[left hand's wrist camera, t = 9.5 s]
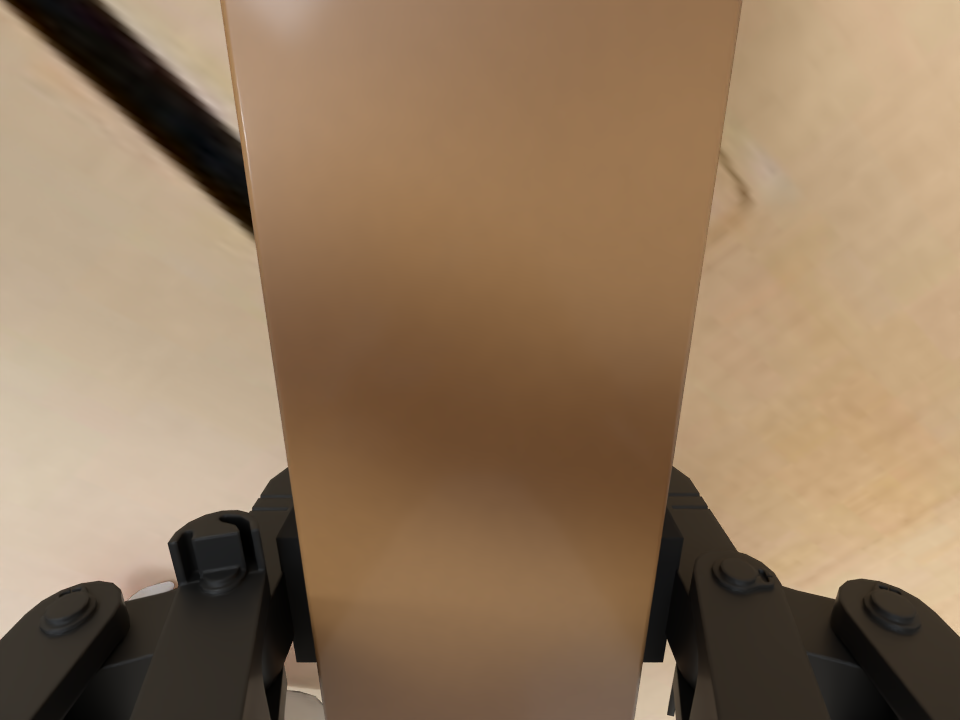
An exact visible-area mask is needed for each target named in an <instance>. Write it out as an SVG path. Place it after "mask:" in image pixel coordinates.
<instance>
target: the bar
mask: <svg viewBox="0 0 960 720" xmlns="http://www.w3.org/2000/svg"><path fill="white" fill-rule="evenodd" d="M220 2H221V9H222V16H223V22H224V29H225V36H226V43H227V50H228V57H229V64H230V71H231V77H232V84H233V91H234V98H235V105H236V112H237V119H238V125H239V132H240V139H241V146H242V153H243V160H244V167H245V174H246V180H247V187H248V194H249V201H250V208H251V215H252V222H253V228H254V235H255V242H256V249H257V256H258V263H259V270H260V277H261V283H262V290H263V297H264V304H265V311H266V318H267V325H268V331H269V338H270V345H271V352H272V359H273V366H274V373H275V380H276V386H277V393H278V400H279V407H280V414H281V421H282V428H283V434H284V441H285V448H286V455H287V462H288V469H289V476H290V483H291V489H292V496H293V503H294V510H295V517H296V524H297V531H298V537H299V544H300V551H301V558H302V565H303V572H304V579H305V585H306V592H307V599H308V606H309V613H310V620H311V627H312V634H313V640H314V647H315V654H316V661H317V668H318V675H319V682H320V688H321V695H322V702H323V709H324V716H325V720H634V717H635V711H636V704H637V697H638V691H639V684H640V677H641V671H642V664H643V657H644V651H645V644H646V637H647V631H648V624H649V618H650V611H651V604H652V598H653V591H654V584H655V578H656V571H657V564H658V558H659V551H660V544H661V538H662V531H663V524H664V518H665V511H666V504H667V498H668V491H669V485H670V478H671V471H672V465H673V458H674V451H675V445H676V438H677V431H678V425H679V418H680V411H681V405H682V398H683V391H684V385H685V378H686V371H687V365H688V358H689V351H690V345H691V338H692V332H693V325H694V318H695V312H696V305H697V298H698V292H699V285H700V278H701V272H702V265H703V258H704V252H705V245H706V238H707V232H708V225H709V218H710V212H711V205H712V199H713V192H714V185H715V179H716V172H717V165H718V159H719V152H720V145H721V139H722V132H723V125H724V119H725V112H726V105H727V99H728V92H729V85H730V79H731V72H732V66H733V59H734V52H735V46H736V39H737V32H738V26H739V19H740V12H741V6H742V0H220Z"/></svg>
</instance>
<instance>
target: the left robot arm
mask: <svg viewBox="0 0 960 720" xmlns="http://www.w3.org/2000/svg"><path fill="white" fill-rule="evenodd" d="M168 547H169V550H170V554H171V558H172V562H173V566H174V570H175V573H176V577H177V581H178V588H176V589H173V590H170V591H167V592H163V593H159V594H155V595H151V596H146V597H142V598H138V599H133V600H129V601H125V602H124V598H123V595H122V592H121V589H119V588H118V587H117V586H116V585H115V584H113V583H109V582H103V581H95V582H88V583H81V584H78V585H75V586H72V587H69V588H67V589H64V590H61V591H59V592H57V593H56V594H54V595H52V596H50V597H48V598H46V599H45V600H43V601H41V602H40V603H39V604H38V605H36V606H35V607H34V608H33V609H31V610H30V611H29V612H28V613H26V614H25V615H24V616H23V617H22V618H21V619H20V620H19V621H18V622H17V623H16V624H15V625H14V627H13V628H12V629H11V630H10V631H9V632H8V633H7V634H6V635H5V636H4V637H3V638H2V639H1V640H0V720H284V715H285V704H286V692H287V679H286V673H285V667H284V662H285V659H286V657H287V654H288V652H289V649H290V647H291V644H292V641H293V643H294V649H295V655H296V661H297V662H317V661H316V654H315V647H314V640H313V634H312V627H311V620H310V613H309V606H308V599H307V592H306V585H305V579H304V572H303V565H302V558H301V551H300V544H299V537H298V531H297V524H296V517H295V510H294V503H293V496H292V489H291V483H290V476H289V469H288V468H286V469H285V470H283V471H282V472H281V473H279V474H278V475H277V476H275V477H274V478H273V479H271V480H270V481H269V483H268V485H267V486H266V488H265V489H264V491H263V492H262V494H261V497H260V498H258V500H257V501H256V503H255V504H254V506H253V507H252V511H250V512H249V513H247V512H243V511H239V510H228V511H219V512H215V513H211V514H207V515H204V516H202V517H200V518H197V519H195V520H193V521H191V522H189V523H187V524H186V525H185V526H183V527H182V528H181V529H179V530H178V531H177V532H175V534H174V535H173V537H172V538H171V539H170V541H169V542H168ZM667 640H668V642H669V645H670V648H671V650H672V653H673V655H674V658H675V660H676V667H675V673H674V678H673V684H672V689H671V695H670V700H669V706H668V712H667V715H670V716H674V713H675V714H676V720H960V637H959V636H958V635H957V634H956V633H955V632H954V631H953V630H952V629H951V628H950V627H949V626H948V625H947V624H946V623H945V622H944V621H943V620H942V619H941V618H940V617H939V616H938V615H937V614H936V613H935V612H934V611H933V610H932V609H931V608H929V607H928V606H927V605H926V604H924V603H923V602H922V601H921V600H920V599H918V598H916V597H914V596H913V595H911V594H909V593H907V592H905V591H903V590H902V589H900V588H897V587H894V586H892V585H889V584H886V583H883V582H880V581H874V580H867V579H856V580H849V581H847V582H845V583H844V584H843V585H842V586H841V587H839V591H838V594H837V597H836V599H831V598H827V597H823V596H819V595H814V594H810V593H806V592H801V591H797V590H794V589H790V588H787V587H784V586H782V584H781V583H780V581H779V580H778V578H777V577H776V575H775V573H774V572H773V571H771V570H770V569H769V568H768V567H767V566H765V565H764V564H763V563H762V562H760V561H758V560H756V559H754V558H752V557H750V556H749V555H747V554H743V553H740V552H738V551H737V550H736V548H735V547H734V545H733V544H732V542H731V541H730V539H729V538H728V536H727V535H726V533H725V532H724V530H723V529H722V527H721V526H720V524H719V522H718V521H717V519H716V518H715V516H714V515H713V513H712V512H711V510H710V509H708V506H707V504H706V503H705V501H704V500H703V498H702V497H700V495H699V492H698V491H697V489H696V488H695V486H694V485H693V483H692V481H691V480H690V478H688V477H687V476H685V475H684V474H683V473H681V472H680V471H679V470H677V469H676V468H675V467H673V466H672V471H671V478H670V485H669V491H668V498H667V504H666V511H665V518H664V524H663V531H662V538H661V544H660V551H659V558H658V564H657V571H656V578H655V584H654V591H653V598H652V604H651V611H650V618H649V624H648V631H647V637H646V644H645V651H644V657H643V662H663V659H664V653H665V647H666V641H667Z"/></svg>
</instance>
